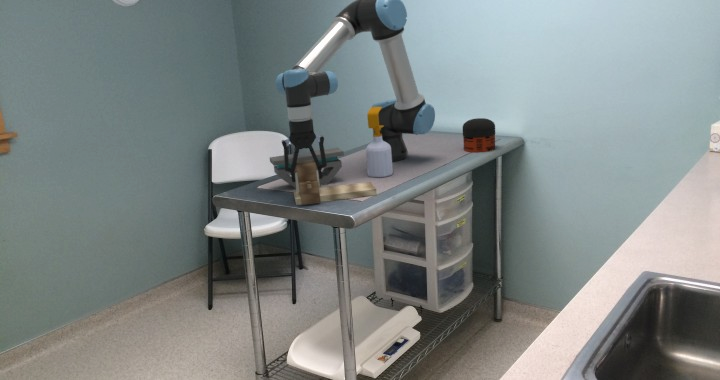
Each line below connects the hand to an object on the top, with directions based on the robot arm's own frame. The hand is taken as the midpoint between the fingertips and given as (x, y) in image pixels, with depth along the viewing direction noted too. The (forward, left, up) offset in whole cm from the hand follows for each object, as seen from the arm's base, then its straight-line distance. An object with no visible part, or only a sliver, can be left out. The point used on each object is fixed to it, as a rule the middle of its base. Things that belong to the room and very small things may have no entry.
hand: (308, 189), depth 201 cm
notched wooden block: (0, +2, -3) cm, 4 cm away
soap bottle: (-28, -21, -3) cm, 35 cm away
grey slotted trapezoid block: (-2, -20, -3) cm, 20 cm away
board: (-8, 0, -3) cm, 9 cm away
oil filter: (-74, -43, -3) cm, 86 cm away
